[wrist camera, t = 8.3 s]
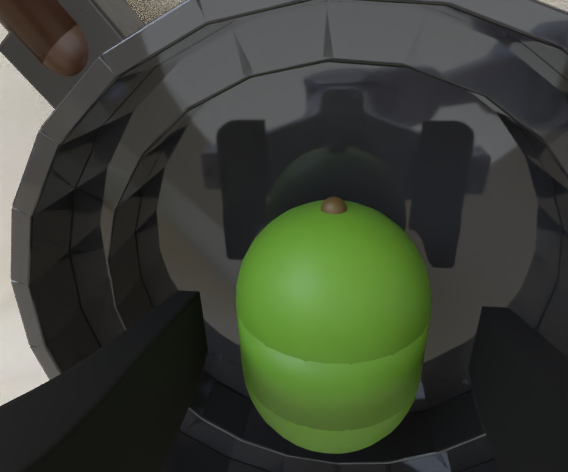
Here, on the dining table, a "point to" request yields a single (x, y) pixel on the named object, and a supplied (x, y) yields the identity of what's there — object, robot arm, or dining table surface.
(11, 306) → the dining table surface
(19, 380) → the dining table surface
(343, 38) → the pan
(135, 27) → the pan handle
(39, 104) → the dining table surface
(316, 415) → the lime
